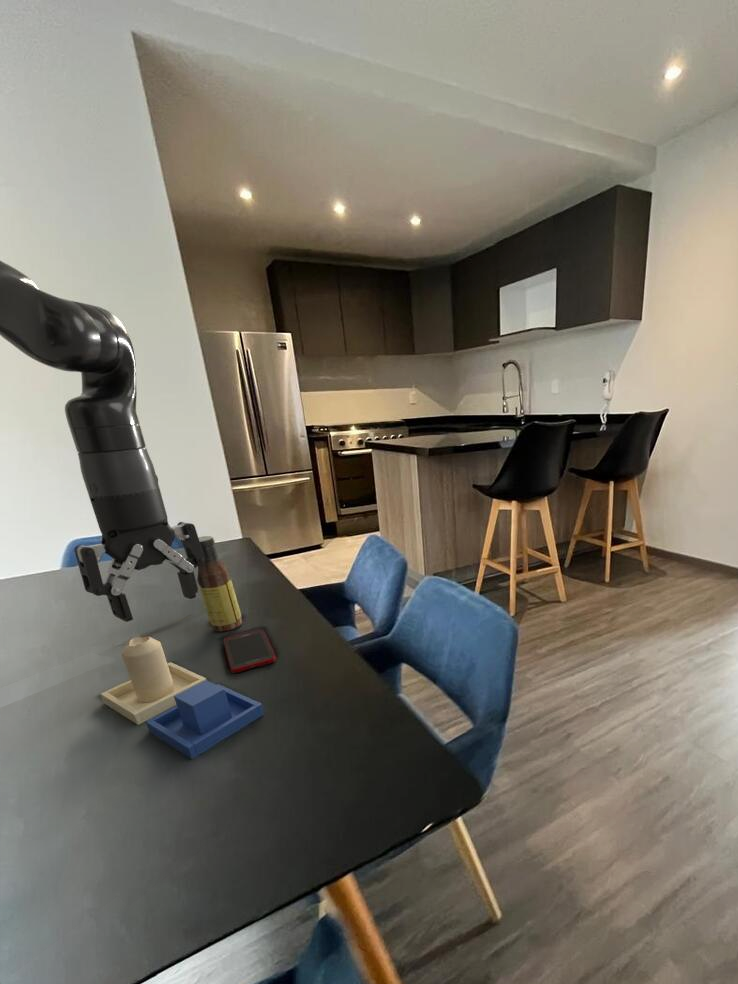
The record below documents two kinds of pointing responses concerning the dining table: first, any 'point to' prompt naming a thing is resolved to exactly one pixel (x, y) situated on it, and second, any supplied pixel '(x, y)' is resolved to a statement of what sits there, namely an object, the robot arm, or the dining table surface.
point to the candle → (148, 669)
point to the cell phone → (248, 651)
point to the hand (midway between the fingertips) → (159, 608)
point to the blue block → (203, 707)
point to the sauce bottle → (217, 589)
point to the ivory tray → (140, 712)
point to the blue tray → (194, 744)
